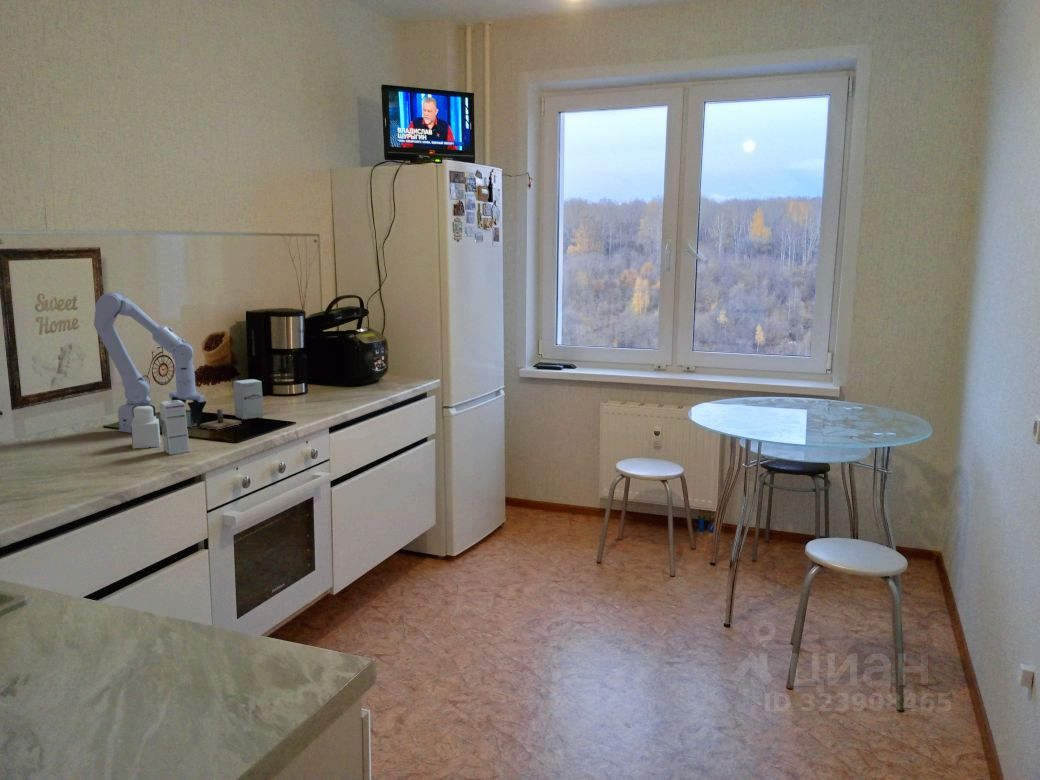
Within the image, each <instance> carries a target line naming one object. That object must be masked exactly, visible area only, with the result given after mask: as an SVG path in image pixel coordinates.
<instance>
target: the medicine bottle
mask: <svg viewBox="0 0 1040 780" xmlns="http://www.w3.org/2000/svg"><path fill="white" fill-rule="evenodd" d="M132 413H133V421H132V424H131V433H130V434H131V444H132V449H133V450H136V449H135V448H139V449H148V448H149V447H151V448H159V447H160V446H161V432H160V428H159V426H160V421H159V418H157V415H156V414H157V413H156V407H155V405H153V404H152V405H150V404H144V405H137V406H135V407H133V408H132Z"/></svg>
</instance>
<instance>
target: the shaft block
mask: <svg viewBox="0 0 1040 780" xmlns="http://www.w3.org/2000/svg"><path fill="white" fill-rule="evenodd" d="M216 414H217V415H216V416H217V417H216V418H217V419H216V420H212V421H207V422H203V423H198V424H199V428H200V427H202V428H201V429H203V428H207V429H206V430H210V429H216V430H218V429H222V428H226V427H230V426H234V425H238V426H240V425H239V424H242V420H238V419H229V418H224V415H223V409H221V408H219V409H216ZM234 427H235V426H234ZM230 428H231V427H230ZM226 429H227V428H226ZM216 430H215V431H216ZM222 430H223V429H222ZM218 431H219V430H218Z"/></svg>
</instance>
